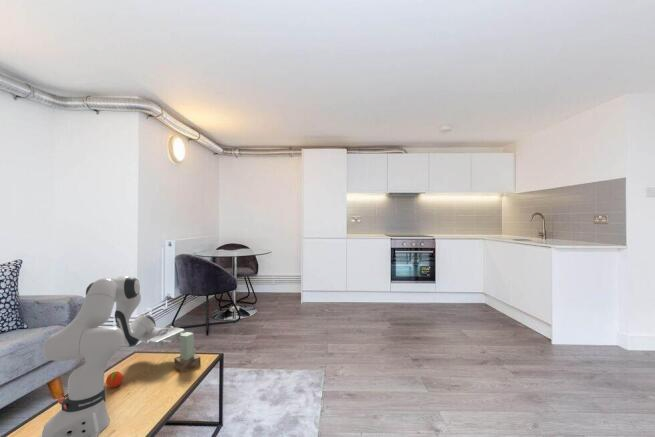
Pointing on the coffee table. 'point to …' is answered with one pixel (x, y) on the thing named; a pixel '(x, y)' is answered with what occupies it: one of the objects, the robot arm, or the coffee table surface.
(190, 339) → the sage block
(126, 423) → the coffee table surface
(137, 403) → the coffee table surface
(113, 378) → the red tomato
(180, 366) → the walnut block
